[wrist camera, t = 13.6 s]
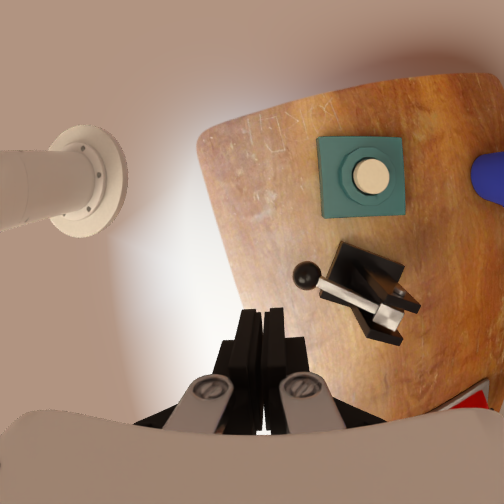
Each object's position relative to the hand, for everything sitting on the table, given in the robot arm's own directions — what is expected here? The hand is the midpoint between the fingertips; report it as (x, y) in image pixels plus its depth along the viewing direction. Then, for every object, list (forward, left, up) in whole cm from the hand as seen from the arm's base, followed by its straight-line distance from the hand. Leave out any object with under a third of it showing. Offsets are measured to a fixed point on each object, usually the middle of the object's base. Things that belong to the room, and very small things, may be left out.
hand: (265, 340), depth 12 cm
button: (+12, +6, -23) cm, 27 cm away
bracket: (+12, -8, -27) cm, 31 cm away
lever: (+8, -6, -20) cm, 22 cm away
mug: (+35, +5, -27) cm, 45 cm away
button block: (+12, +6, -27) cm, 30 cm away
